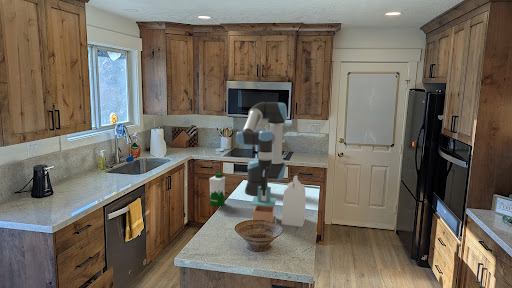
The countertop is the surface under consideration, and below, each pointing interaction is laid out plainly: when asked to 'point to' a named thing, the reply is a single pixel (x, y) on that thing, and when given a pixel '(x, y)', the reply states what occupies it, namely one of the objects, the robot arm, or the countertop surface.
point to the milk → (294, 204)
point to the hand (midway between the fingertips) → (264, 199)
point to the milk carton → (217, 190)
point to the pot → (263, 213)
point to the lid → (269, 200)
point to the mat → (240, 212)
